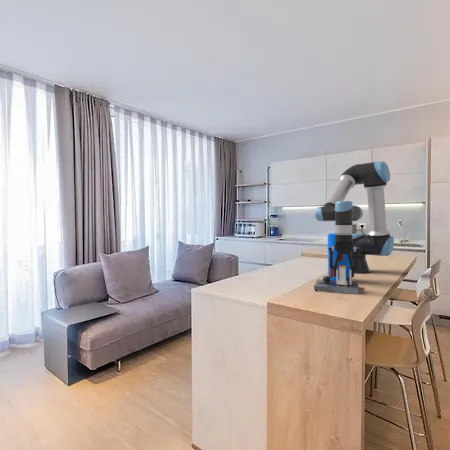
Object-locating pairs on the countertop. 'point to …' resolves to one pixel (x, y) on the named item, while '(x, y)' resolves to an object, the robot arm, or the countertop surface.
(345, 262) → the thermos
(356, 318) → the countertop surface
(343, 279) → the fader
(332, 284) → the console
